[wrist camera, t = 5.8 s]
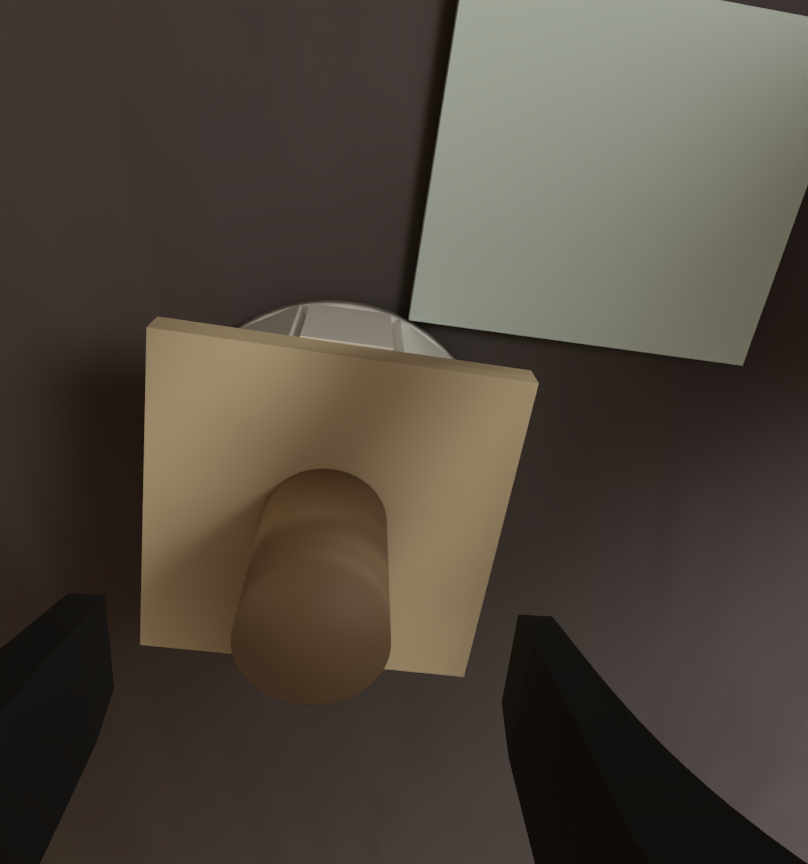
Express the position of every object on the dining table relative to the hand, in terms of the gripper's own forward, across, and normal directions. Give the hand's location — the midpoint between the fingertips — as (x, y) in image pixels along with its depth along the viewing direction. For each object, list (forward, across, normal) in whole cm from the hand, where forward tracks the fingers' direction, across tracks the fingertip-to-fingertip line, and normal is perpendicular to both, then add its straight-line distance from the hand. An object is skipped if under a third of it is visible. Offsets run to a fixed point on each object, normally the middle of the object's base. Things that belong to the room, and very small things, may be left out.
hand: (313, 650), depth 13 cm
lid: (+5, 0, 0) cm, 5 cm away
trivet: (+8, -6, -8) cm, 13 cm away
